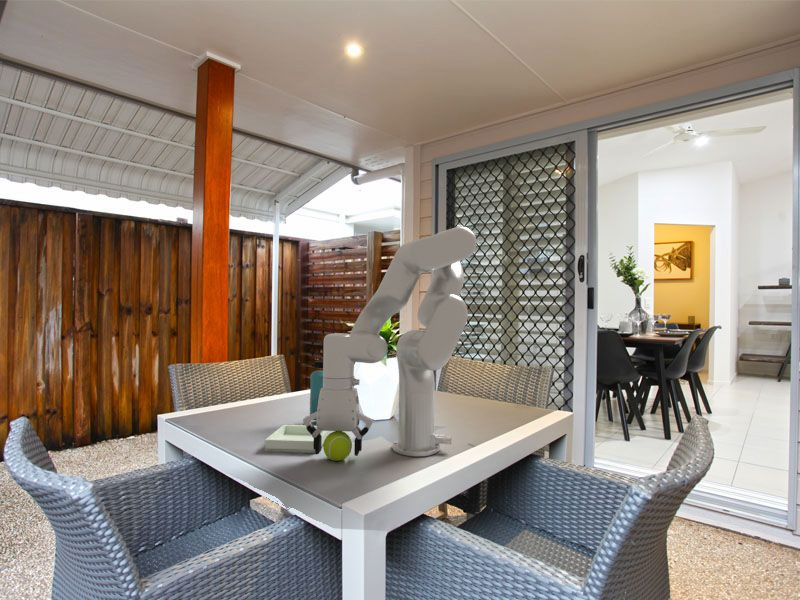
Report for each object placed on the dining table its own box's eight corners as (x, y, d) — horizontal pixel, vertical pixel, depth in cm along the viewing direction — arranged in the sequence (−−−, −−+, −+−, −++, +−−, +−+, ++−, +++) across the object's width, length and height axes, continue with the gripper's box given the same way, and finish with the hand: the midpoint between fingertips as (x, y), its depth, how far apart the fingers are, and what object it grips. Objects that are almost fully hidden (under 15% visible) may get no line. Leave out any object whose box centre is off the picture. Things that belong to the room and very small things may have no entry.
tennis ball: (321, 456, 108) (321, 428, 108) (348, 453, 110) (348, 426, 110) (325, 466, 101) (326, 436, 101) (354, 463, 103) (355, 434, 104)
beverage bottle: (318, 426, 134) (319, 362, 134) (304, 423, 138) (305, 360, 138) (334, 422, 139) (334, 360, 139) (320, 418, 143) (320, 358, 143)
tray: (330, 436, 124) (330, 426, 124) (317, 453, 110) (318, 441, 110) (283, 435, 125) (283, 424, 125) (264, 451, 111) (265, 439, 111)
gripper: (375, 381, 109) (374, 449, 109) (308, 380, 110) (307, 447, 110) (371, 387, 101) (370, 460, 101) (299, 385, 103) (298, 457, 103)
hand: (337, 453), depth 106 cm, fingers open, 9 cm apart
